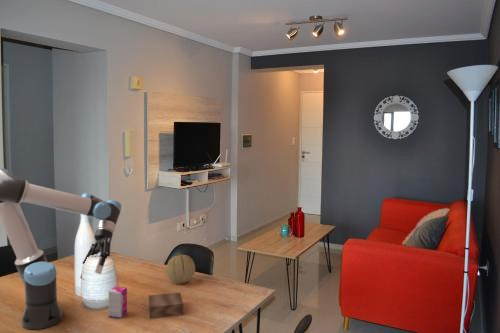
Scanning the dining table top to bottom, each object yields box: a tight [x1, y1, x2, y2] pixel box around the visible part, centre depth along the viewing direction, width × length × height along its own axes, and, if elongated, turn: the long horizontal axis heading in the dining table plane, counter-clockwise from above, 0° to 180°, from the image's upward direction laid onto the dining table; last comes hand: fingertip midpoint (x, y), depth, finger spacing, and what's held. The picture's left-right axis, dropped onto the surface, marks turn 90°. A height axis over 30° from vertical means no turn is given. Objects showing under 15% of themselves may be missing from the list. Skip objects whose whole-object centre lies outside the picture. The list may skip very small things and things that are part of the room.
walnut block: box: [148, 292, 184, 319], centre depth 185 cm, size 14×12×5 cm
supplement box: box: [108, 286, 128, 319], centre depth 180 cm, size 6×6×12 cm
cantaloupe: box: [166, 252, 196, 285], centre depth 216 cm, size 15×15×15 cm
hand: (90, 276), depth 182 cm, fingers open, 13 cm apart
